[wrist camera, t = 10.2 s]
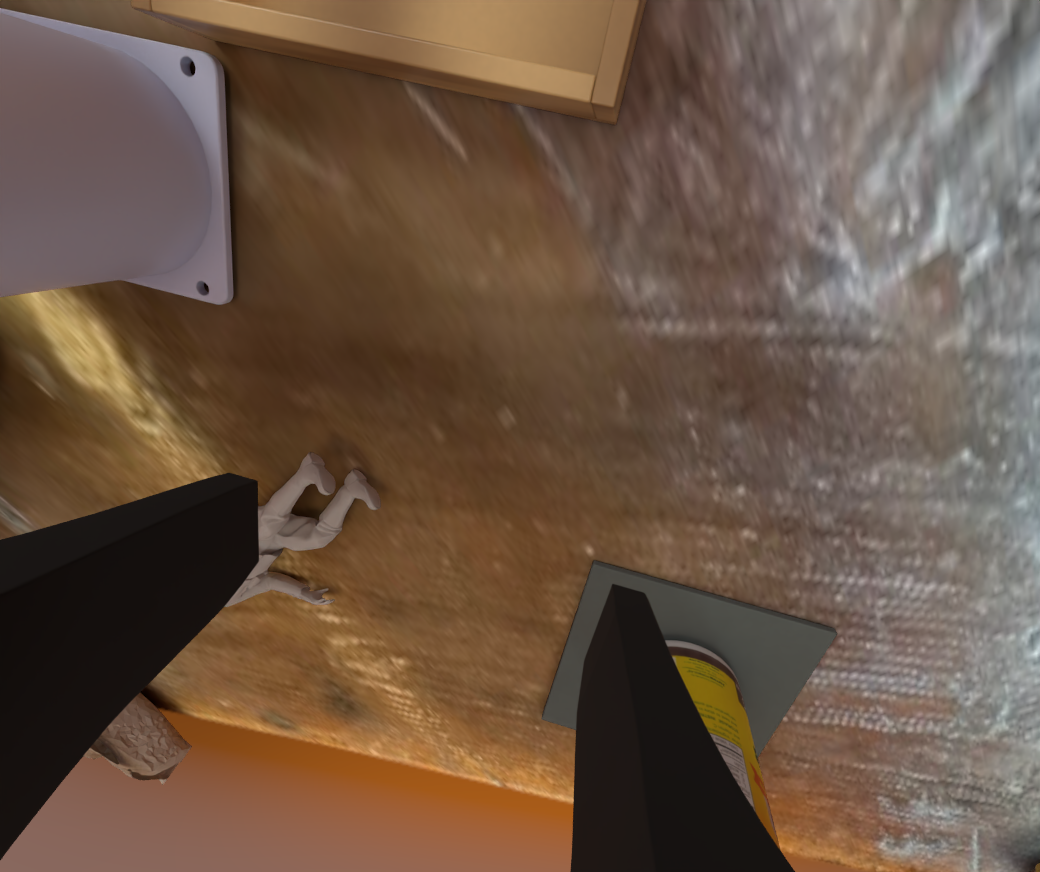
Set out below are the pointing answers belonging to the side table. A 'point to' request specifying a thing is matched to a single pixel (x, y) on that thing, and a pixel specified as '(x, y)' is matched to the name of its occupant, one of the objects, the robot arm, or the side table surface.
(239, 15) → the wooden tray
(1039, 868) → the sauce bottle
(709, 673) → the supplement bottle
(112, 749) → the bone fragment
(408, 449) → the side table surface
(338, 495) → the soldier figure
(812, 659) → the mat
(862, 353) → the side table surface
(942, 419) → the side table surface
